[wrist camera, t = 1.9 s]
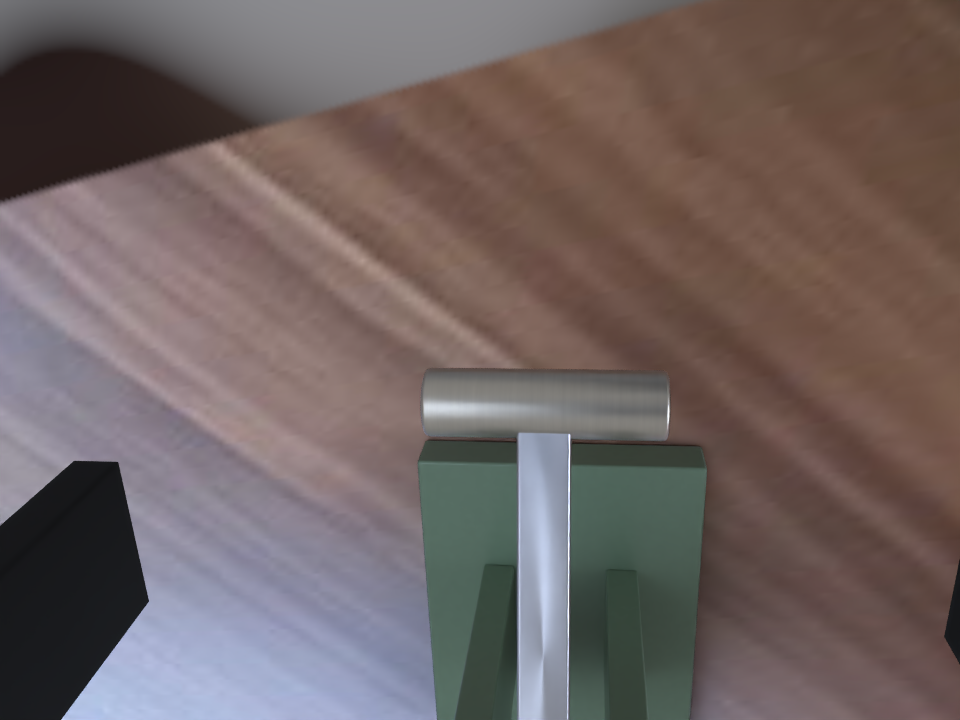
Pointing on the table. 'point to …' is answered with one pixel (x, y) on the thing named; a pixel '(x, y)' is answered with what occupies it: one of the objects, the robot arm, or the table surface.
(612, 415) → the lever
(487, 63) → the table surface
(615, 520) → the bracket
